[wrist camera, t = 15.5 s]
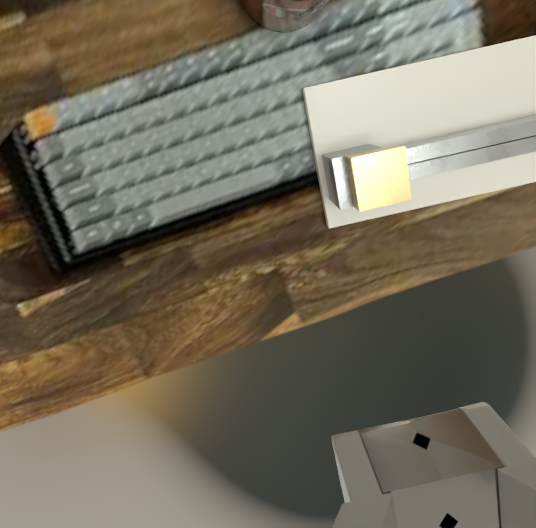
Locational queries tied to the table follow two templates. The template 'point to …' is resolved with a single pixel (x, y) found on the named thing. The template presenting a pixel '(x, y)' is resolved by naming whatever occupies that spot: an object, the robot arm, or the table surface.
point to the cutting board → (427, 119)
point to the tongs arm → (471, 139)
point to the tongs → (417, 164)
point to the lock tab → (379, 177)
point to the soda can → (283, 13)
